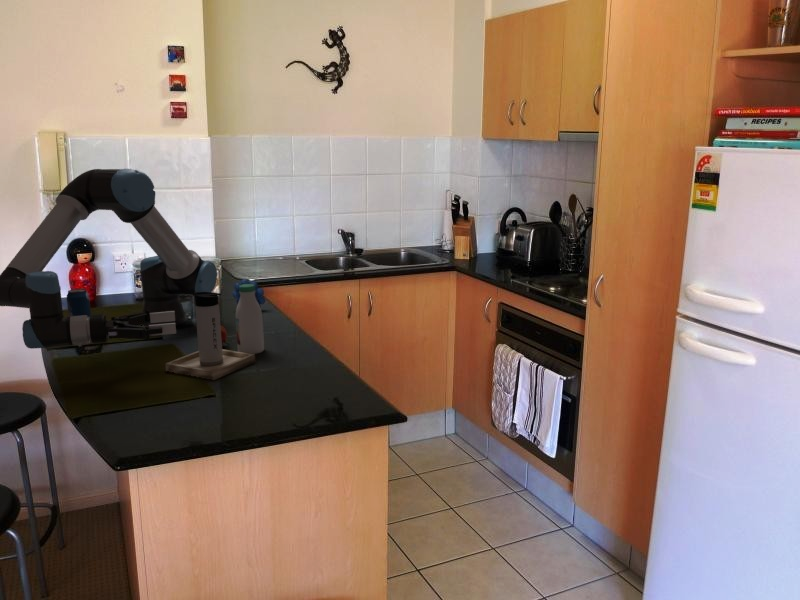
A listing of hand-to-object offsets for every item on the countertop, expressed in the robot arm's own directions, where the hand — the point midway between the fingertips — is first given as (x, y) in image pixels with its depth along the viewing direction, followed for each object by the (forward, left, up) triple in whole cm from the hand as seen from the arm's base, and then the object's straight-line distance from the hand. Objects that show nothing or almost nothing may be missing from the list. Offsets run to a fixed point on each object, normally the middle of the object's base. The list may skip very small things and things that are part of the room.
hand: (175, 321), depth 193 cm
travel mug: (+6, +6, -13) cm, 15 cm away
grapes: (-24, +60, -14) cm, 66 cm away
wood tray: (+6, +6, -14) cm, 16 cm away
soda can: (-66, +22, -14) cm, 71 cm away
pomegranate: (-5, +21, -14) cm, 26 cm away
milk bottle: (+7, +22, -14) cm, 27 cm away
